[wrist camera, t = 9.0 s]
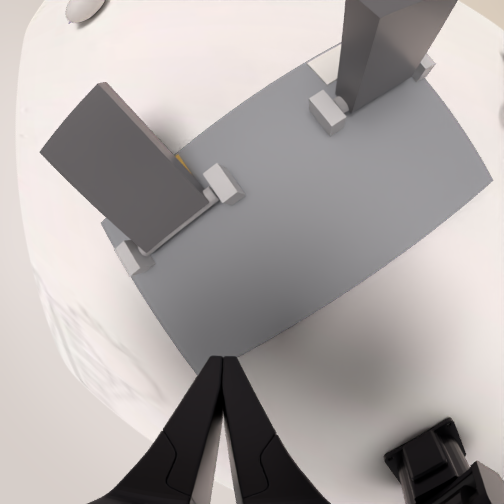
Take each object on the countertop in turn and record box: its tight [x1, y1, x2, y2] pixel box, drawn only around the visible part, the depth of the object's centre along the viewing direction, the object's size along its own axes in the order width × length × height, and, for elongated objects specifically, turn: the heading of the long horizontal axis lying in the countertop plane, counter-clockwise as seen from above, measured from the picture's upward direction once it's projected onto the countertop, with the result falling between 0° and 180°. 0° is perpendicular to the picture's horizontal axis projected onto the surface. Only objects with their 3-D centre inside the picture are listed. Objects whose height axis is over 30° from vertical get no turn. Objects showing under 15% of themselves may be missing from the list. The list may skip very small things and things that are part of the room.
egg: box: [66, 0, 105, 23], centre depth 19 cm, size 4×6×4 cm, turn 145°
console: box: [101, 42, 493, 375], centre depth 17 cm, size 13×24×4 cm, turn 125°
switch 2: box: [333, 0, 458, 113], centre depth 10 cm, size 2×6×10 cm, turn 125°
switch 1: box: [40, 82, 219, 257], centre depth 15 cm, size 2×6×10 cm
